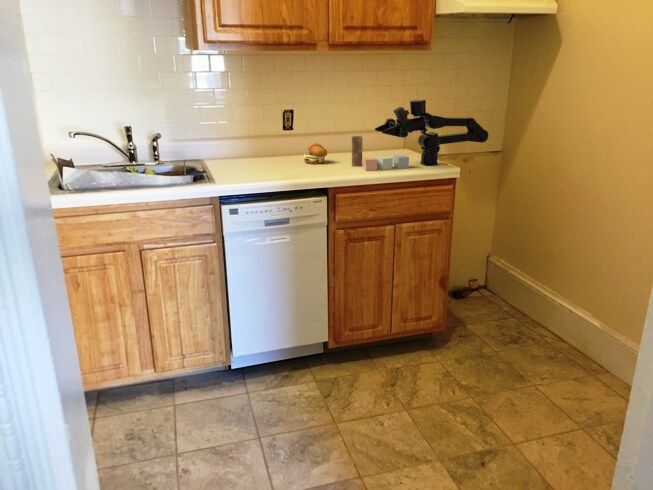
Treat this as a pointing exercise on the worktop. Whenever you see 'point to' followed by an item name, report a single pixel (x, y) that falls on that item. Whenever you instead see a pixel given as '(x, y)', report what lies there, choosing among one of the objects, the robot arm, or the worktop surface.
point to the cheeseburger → (315, 154)
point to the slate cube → (401, 162)
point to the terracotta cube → (370, 164)
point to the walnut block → (357, 150)
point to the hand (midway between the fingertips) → (378, 130)
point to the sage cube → (384, 163)
